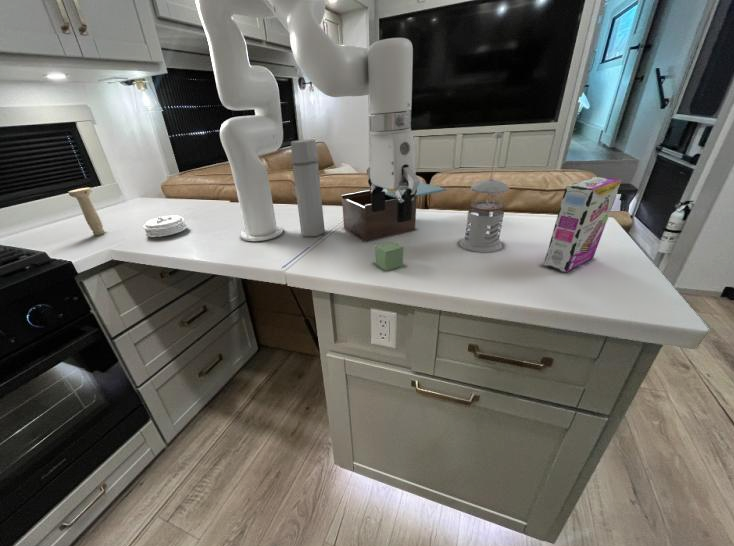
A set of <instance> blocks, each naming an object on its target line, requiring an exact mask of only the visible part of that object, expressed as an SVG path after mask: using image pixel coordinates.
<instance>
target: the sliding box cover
mask: <svg viewBox="0 0 734 546" xmlns="http://www.w3.org/2000/svg"><path fill="white" fill-rule="evenodd" d="M383 191H385V195H388V196H391V197H394V198H397V195H396V193H395V191H393V190H389V189H385V188H384V189H383ZM401 191H402V194H404V192H405V190H401ZM446 191H447V188H446V187H442V186H436V185H432V184H429V183H425V182H421V181H420V183H419V185H418V188H417V193H416V194H415V195H417V198H418V197H422V196H426V195H431V194H432V195H433V194H437V193H442V192H446ZM397 199H398V198H397Z"/></svg>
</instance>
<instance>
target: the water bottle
mask: <svg viewBox="0 0 734 546" xmlns="http://www.w3.org/2000/svg"><path fill="white" fill-rule="evenodd" d="M290 150H291V151H290V152H291V160H290V163H291V164H292V173H293V181H294V189H295V194H296V195H295V196H296V203H297V204H296V205H297V210H298V211H297V212H298V218H299V226H300V233H301V234H302V236H304V237H310V238H311V237H318V236H321V235H323V234H324V233H325V231H326V230H325V221H324V210H323V199H322V198H323V197H322V189H321V179H320V168H319V167H320V166H319V162H318V161H321V159H319V153H318V148H317V142H316V139H312V138H311V139H300V140H299V139H298V140H292V141H290Z"/></svg>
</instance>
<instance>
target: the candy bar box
mask: <svg viewBox="0 0 734 546" xmlns="http://www.w3.org/2000/svg"><path fill="white" fill-rule="evenodd" d="M622 181H623V180H622V179H619V178H609V177H601V176H594V177H590V178H588V179H585V180H584V179H583V180H582V181H577V182H575V183H572V184H568V185H566V186H565V188H564V192H563V195H562V198H561V203H560V206H559V210H558V213H557V217H556V220H555V223H554V224H555V225H554V227H553V230H552V234H551V238H550V241H549V245H548V248H547V251H546V254H545V258H544V261H543V264H542V265H543V267H546V268H549V269H553V270H556V271H558V272H562V273H568V272H570V271H572V270H574V269H576V268H577V267H579V266H581V265H583V264H585V263H587V262H589V261H591V260H592V259H594V257H595V254H596V252H597V249H598V246H599V243H600V241H601V238H602V235H603V232H604V231H605V227H606V224H607V221H608V219H609V216H610V214H611V211H612V209H613V206H614V203H615V201H616V197H617V195H618V192H619V189H620V187H621V184H622Z"/></svg>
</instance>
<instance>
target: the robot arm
mask: <svg viewBox="0 0 734 546" xmlns="http://www.w3.org/2000/svg"><path fill="white" fill-rule="evenodd" d="M195 5H196V9H197V13H198V16H199V19H200V21H201V25H202V27H203V30H204V33H205V36H206V39H207V43H208V47H209V54H210V59H211V64H212V69H213V75H214V79H215V85H216V90H217V94H218V98H219V100H220V102H221V105H222V106H223V107H224V108H226V109H227V110H231V111H251V110H252V111H253V110H254V115H241V116H234V117H230V118H228V119H226V120H225V121H223V123H221V126H220V129H219V138H220V143H221V145H222V148H223V150H224V152H225V155H226V157H227V160H228V163H229V166H230V170H231V174H232V178H233V183H234V186H235V191H236V194H237V195H236V196H237V200H238V204H239V209H240V213H241V218H242V223H243V227H244V230H242V231H241V233H240V238H241V239H242V240H243V241H247V242H262V241H263V242H265V241H269V240H272V239H275V238H277V237H279V236H281V235H282V234H283V232H284V231H283V227H282V226H281V225H278V224H277V219H276V213H275V209H274V201H273V196H272V190H271V184H270V178H269V173H268V170H267V168H266V166H265V164H264V163H263V161H262V160H261V159H260V157H259V156H260V155H264V154H268V153H273V152H276V151H277V150H279V149H280V148H281V147H282V144H283V142H284V128H283V117H282V116H283V115H282V107H281V99H280V89H279V86H278V82H277V79H276V78H275V76H274V74H273V73H272V72H271V70H270V69H268V68H267V67H265V66H262V65H253V64H252V65H251V64H250V60H249V56H248V55H249V54H248V47H247V43H246V39H245V36H244V34H243V32H242V30H241V28H240V26H239V25H238V23H237V22H236V20H235V18H233V16H234V15H238V16H242V17H243V16H244V17H250V18H257V19H262V20H263V19H274V18H276V19H277V20H278V22H280V24H281V25H282V26H283V27H284V28H285V30H286V31H287V32H288V33H289V44H290V48H291V52H292V55H293V59H294V60H295V63H296V64H297V67H298V68H299V69H300V70H301V72H302V73H303V74H304V76H305V77H306V78H307V79H308V81H309V82H311V83H312V85H313V86H314V87H315V88H316V89H317V90H318V91H320V93H322V94H324V95H326V96H328V97H331V98H344V97H363V96H368V109H369V111H368V112H369V135H370V143H369V144H370V145H369V167H368V168H367V169H366V176H367V184H368V185H369V190H370V193H372V194H371V209H372V212H378V211H382V210H385V191H383V189H384V188H385V189H389V190H393V191H395V193H396V195H397V198H398V200H399V202H397V203H396V221H397V222H398V223H401V222H405V221H409V220H411V214H412V200H414V196H415V194H416V193H417V188H418V185H419V183H420V182H421V180H420V178H419V177H418V176H417V174H416V173H417V171H416V169H417V168H416V146H415V139H414V133H413V131H412V105H413V104H412V102H413V100H412V99H413V68H414V67H413V66H414V65H413V62H414V52H413V51H414V48H413V47H414V46H413V43H412V41H411V40H410V39H409V38H405V37H391V38H385V39H384V38H383V39H381V40H380V39H379V40H377V41H375V42H373V43H371V45H370V46H369V47H363V46H355V45H346V44H338V43H336V42H335V41H334V40H333V39H332V38H331V37H330V36H329V34H328V33H327V32H326V31H325V30H324V29H323V28H322V23H323V21H324V19H325V14H326V0H195ZM401 190H405V192H404V194H402V191H401Z"/></svg>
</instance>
